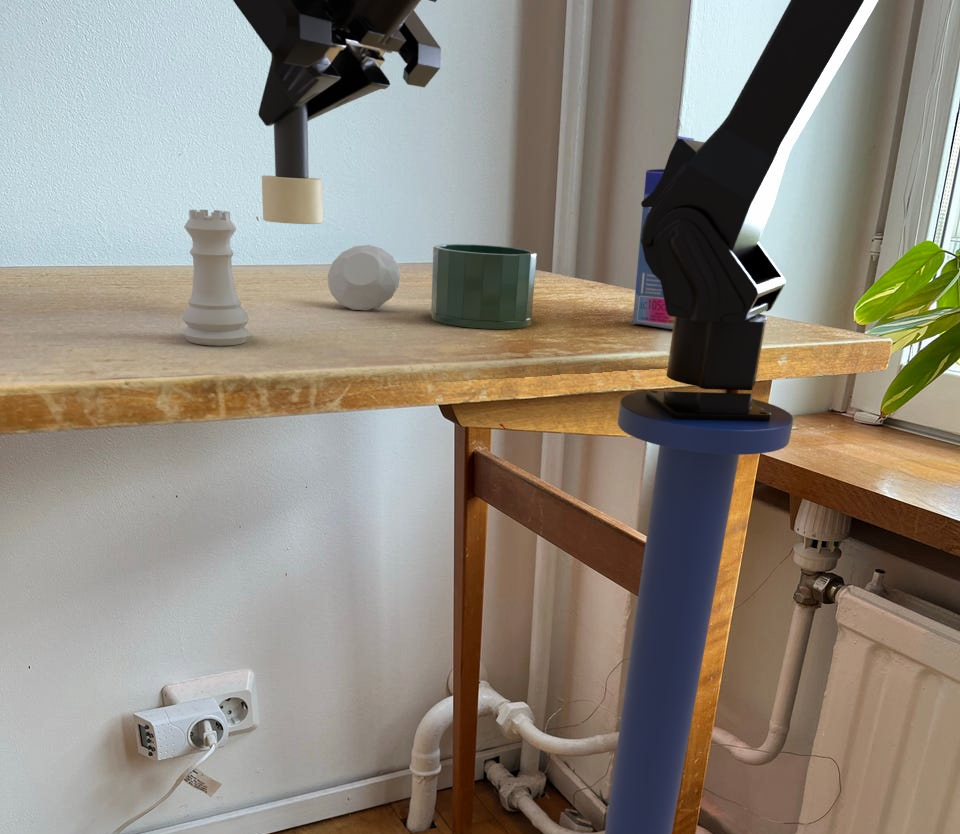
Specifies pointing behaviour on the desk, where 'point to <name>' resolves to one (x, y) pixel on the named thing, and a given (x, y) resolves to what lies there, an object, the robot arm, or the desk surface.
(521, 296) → the green faceted pot
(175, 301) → the desk surface
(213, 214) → the rook chess piece
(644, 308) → the ink cartridge box
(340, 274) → the gemstone
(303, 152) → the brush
